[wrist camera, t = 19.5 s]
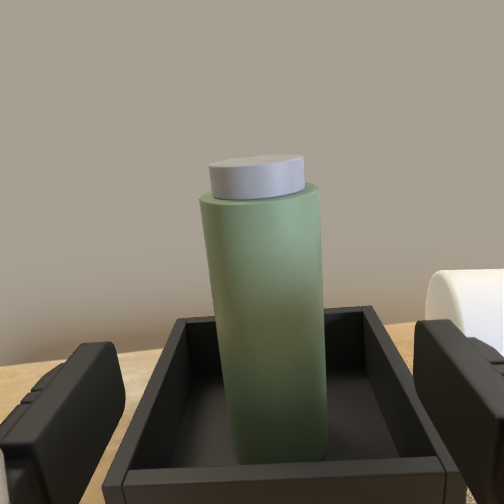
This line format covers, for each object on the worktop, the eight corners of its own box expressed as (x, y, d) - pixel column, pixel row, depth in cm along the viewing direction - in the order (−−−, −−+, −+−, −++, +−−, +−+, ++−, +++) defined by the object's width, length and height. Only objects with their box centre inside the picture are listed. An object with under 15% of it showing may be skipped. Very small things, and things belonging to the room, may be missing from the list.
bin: (371, 367, 29) (371, 305, 27) (459, 569, 16) (469, 471, 14) (187, 378, 29) (176, 318, 28) (125, 578, 16) (99, 487, 15)
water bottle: (321, 403, 25) (310, 150, 20) (336, 477, 19) (326, 159, 15) (235, 408, 25) (204, 159, 20) (227, 481, 20) (184, 172, 15)
